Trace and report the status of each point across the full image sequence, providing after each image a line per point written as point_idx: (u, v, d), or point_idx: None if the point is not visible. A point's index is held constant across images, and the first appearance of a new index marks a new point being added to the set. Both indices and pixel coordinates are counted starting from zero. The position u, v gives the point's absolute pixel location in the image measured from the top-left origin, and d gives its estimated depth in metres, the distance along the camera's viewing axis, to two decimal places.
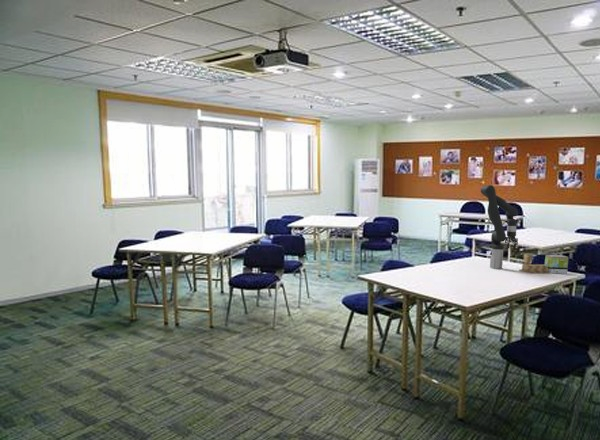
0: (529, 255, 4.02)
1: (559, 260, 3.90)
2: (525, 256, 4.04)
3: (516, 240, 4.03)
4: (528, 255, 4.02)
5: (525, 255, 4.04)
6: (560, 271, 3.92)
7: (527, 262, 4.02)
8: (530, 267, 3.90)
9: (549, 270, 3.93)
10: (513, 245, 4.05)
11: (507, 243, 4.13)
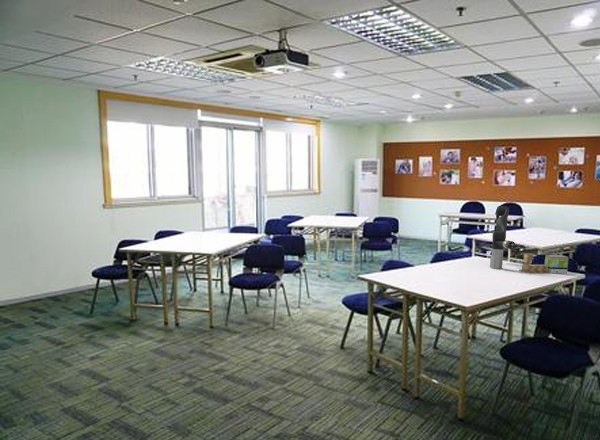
0: (529, 255, 4.02)
1: (559, 260, 3.90)
2: (525, 256, 4.04)
3: None
4: (528, 255, 4.02)
5: (525, 255, 4.04)
6: (560, 271, 3.92)
7: (527, 262, 4.02)
8: (530, 267, 3.90)
9: (549, 270, 3.93)
10: (521, 245, 4.19)
11: (513, 245, 4.18)
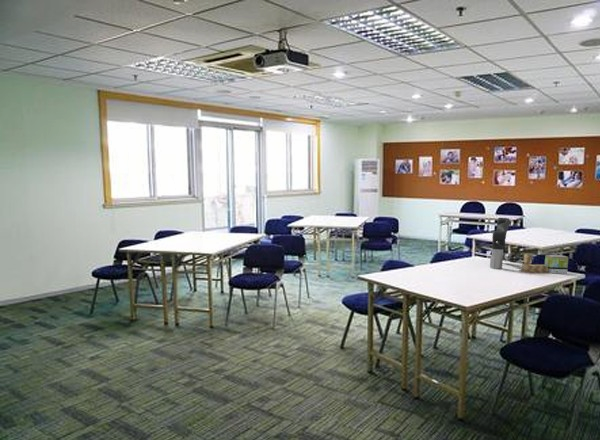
0: (529, 255, 4.02)
1: (559, 260, 3.90)
2: (525, 256, 4.04)
3: None
4: (528, 255, 4.02)
5: (525, 255, 4.04)
6: (560, 271, 3.92)
7: (527, 262, 4.02)
8: (530, 267, 3.90)
9: (549, 270, 3.93)
10: (523, 258, 4.15)
11: (515, 258, 4.15)
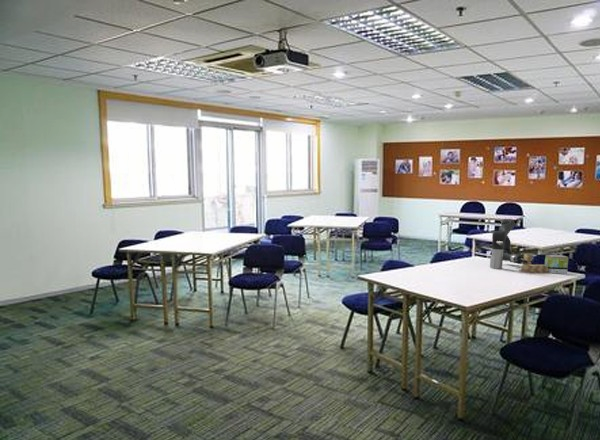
0: (529, 255, 4.02)
1: (559, 260, 3.90)
2: (525, 256, 4.04)
3: None
4: (528, 255, 4.02)
5: (525, 255, 4.04)
6: (560, 271, 3.92)
7: (527, 262, 4.02)
8: (530, 267, 3.90)
9: (549, 270, 3.93)
10: None
11: None
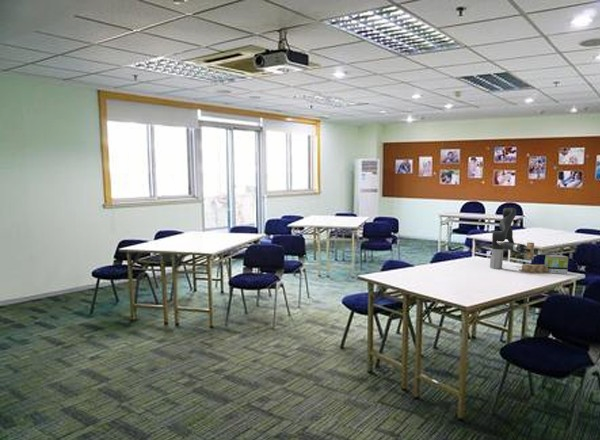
0: (532, 244, 3.99)
1: (559, 260, 3.90)
2: (528, 245, 4.00)
3: None
4: (531, 244, 3.98)
5: (528, 244, 4.00)
6: (560, 271, 3.92)
7: (530, 251, 3.99)
8: (530, 267, 3.90)
9: (549, 270, 3.93)
10: None
11: None
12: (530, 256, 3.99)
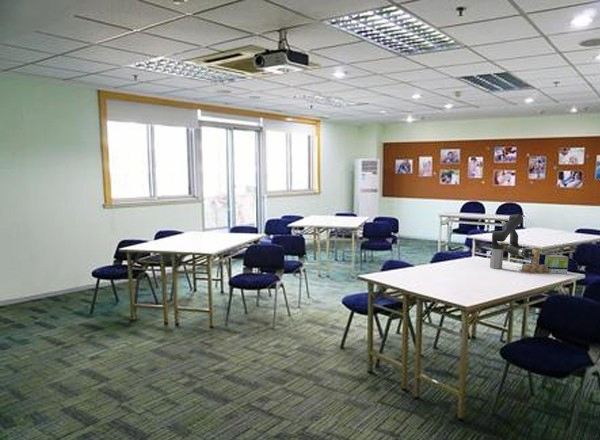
0: (538, 250, 3.91)
1: (559, 260, 3.90)
2: (533, 251, 3.93)
3: None
4: (537, 250, 3.91)
5: (534, 250, 3.93)
6: (560, 271, 3.92)
7: (536, 257, 3.92)
8: (530, 267, 3.90)
9: (549, 270, 3.93)
10: None
11: (530, 253, 3.95)
12: (536, 262, 3.92)
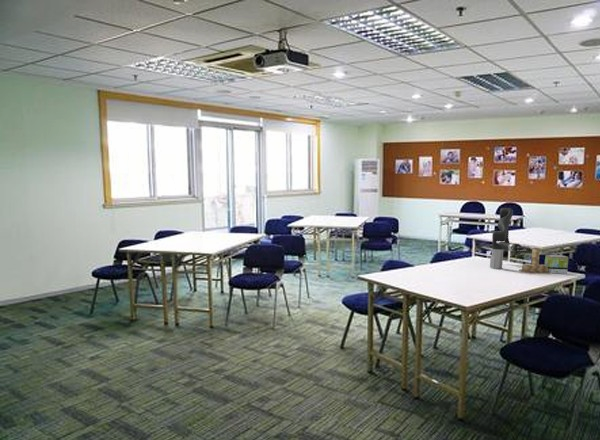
0: (538, 250, 3.91)
1: (559, 260, 3.90)
2: (533, 251, 3.93)
3: None
4: (537, 250, 3.91)
5: (533, 250, 3.93)
6: (560, 271, 3.92)
7: (535, 257, 3.92)
8: (530, 267, 3.90)
9: (549, 270, 3.93)
10: (527, 248, 4.11)
11: (518, 247, 4.10)
12: (535, 262, 3.92)
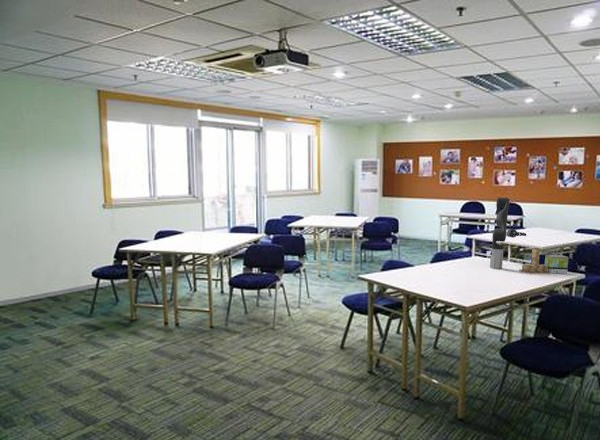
0: (538, 250, 3.91)
1: (559, 260, 3.90)
2: (533, 251, 3.93)
3: None
4: (537, 250, 3.91)
5: (533, 250, 3.93)
6: (560, 271, 3.92)
7: (535, 257, 3.92)
8: (530, 267, 3.90)
9: (549, 270, 3.93)
10: (523, 233, 4.18)
11: (514, 233, 4.18)
12: (535, 262, 3.92)
